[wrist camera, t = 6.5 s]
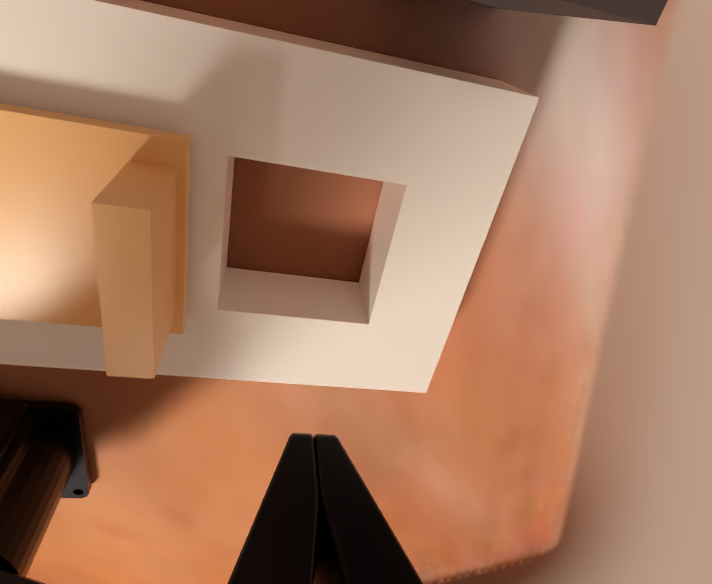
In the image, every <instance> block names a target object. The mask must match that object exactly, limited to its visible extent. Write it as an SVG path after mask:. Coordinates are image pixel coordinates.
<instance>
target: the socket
mask: <svg viewBox="0 0 712 584" xmlns="http://www.w3.org/2000/svg"><path fill="white" fill-rule="evenodd" d="M538 100H539V97H537V96H535V95H533V94H530V93H528V92H526V91H524V90H521V89H519V88H517V87H515V86H512V85H510V84H508V83H506V82H503V81H501V80H496V79H492V78H487V77H483V76H478V75H474V74H469V73H465V72H460V71H456V70H451V69H447V68H442V67H438V66H433V65H429V64H425V63H420V62H416V61H411V60H407V59H402V58H398V57H393V56H389V55H384V54H380V53H375V52H371V51H366V50H362V49H357V48H353V47H348V46H344V45H339V44H335V43H330V42H326V41H321V40H317V39H312V38H308V37H303V36H299V35H294V34H290V33H285V32H281V31H276V30H272V29H267V28H263V27H258V26H254V25H249V24H245V23H240V22H236V21H231V20H227V19H222V18H218V17H213V16H209V15H204V14H200V13H195V12H191V11H186V10H182V9H178V8H173V7H169V6H164V5H160V4H155V3H151V2H146V1H142V0H0V103H4V104H10V105H16V106H22V107H28V108H34V109H39V110H45V111H51V112H57V113H63V114H69V115H75V116H81V117H87V118H92V119H98V120H104V121H110V122H116V123H122V124H128V125H134V126H139V127H145V128H151V129H157V130H163V131H169V132H175V133H181V134H187V135H191V156H190V196H189V235H188V275H187V315H186V326H185V329H184V333H183V334H175V333H169V336H168V339H167V342H166V345H165V348H164V351H163V354H162V357H161V359H160V362H159V365H158V368H157V371H156V374H155V375H170V376H185V377H200V378H215V379H230V380H244V381H259V382H274V383H289V384H304V385H319V386H334V387H349V388H364V389H379V390H393V391H408V392H423V393H426V392H427V389H428V386H429V384H430V381H431V379H432V376H433V373H434V371H435V368H436V366H437V363H438V360H439V358H440V355H441V353H442V350H443V347H444V345H445V342H446V340H447V337H448V334H449V332H450V329H451V327H452V324H453V321H454V319H455V316H456V314H457V311H458V308H459V306H460V303H461V301H462V298H463V295H464V293H465V290H466V288H467V285H468V282H469V280H470V277H471V275H472V272H473V269H474V267H475V264H476V262H477V259H478V256H479V254H480V251H481V249H482V246H483V243H484V241H485V238H486V236H487V233H488V230H489V228H490V225H491V223H492V220H493V217H494V215H495V212H496V210H497V207H498V204H499V202H500V199H501V197H502V194H503V191H504V189H505V186H506V184H507V181H508V178H509V176H510V173H511V171H512V168H513V165H514V163H515V160H516V158H517V155H518V152H519V150H520V147H521V145H522V142H523V139H524V137H525V134H526V132H527V129H528V126H529V124H530V121H531V119H532V116H533V113H534V111H535V108H536V106H537V103H538ZM235 157H238V158H244V159H250V160H256V161H263V162H269V163H275V164H281V165H287V166H293V167H299V168H305V169H311V170H318V171H324V172H330V173H336V174H342V175H348V176H354V177H360V178H366V179H372V180H379V181H384V182H383V186H382V190H381V194H380V198H379V202H378V206H377V210H376V214H375V218H374V222H373V227H372V231H371V235H370V239H369V243H368V247H367V251H366V255H365V259H364V263H363V267H362V272H361V276H360V280H359V283H358V282H350V281H341V280H332V279H324V278H315V277H306V276H298V275H289V274H280V273H272V272H263V271H254V270H246V269H237V268H228V267H227V255H228V242H229V228H230V215H231V201H232V188H233V174H234V161H235ZM0 364H6V365H21V366H36V367H51V368H66V369H81V370H96V371H106V365H105V354H104V342H103V331H102V327H93V326H81V325H69V324H57V323H46V322H34V321H22V320H10V319H0Z"/></svg>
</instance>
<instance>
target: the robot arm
mask: <svg viewBox="0 0 712 584" xmlns="http://www.w3.org/2000/svg"><path fill="white" fill-rule="evenodd" d="M69 414H70V415H69ZM91 486H92V485H91V478H90V470H89V462H88V455H87V447H86V440H85V432H84V424H83V417H82V411H81V408H79V407H78V406H77V405H75V404H71V403H57V402H38V401H19V400H0V584H45V583H42V582H39V581H36V580H33V579H30V578H27V577H26V576H27V573H28V571H29V569H30V567H31V564H32V562H33V560H34V557H35V555H36V553H37V551H38V548H39V546H40V544H41V542H42V539H43V537H44V535H45V533H46V530H47V528H48V526H49V524H50V521H51V519H52V517H53V515H54V512H55V510H56V508H57V505H58V503H59V501H60V499H61V498H83V497H86V496H87V495H88V494H89V492H90V489H91ZM228 584H423V583H422V581H421V579H420V577H419V576H418V574H417V572H416V571H415V569H414V567H413V565H412V564H411V562H410V560H409V559H408V557H407V555H406V553H405V552H404V550H403V548H402V547H401V545H400V543H399V542H398V540H397V538H396V536H395V535H394V533H393V531H392V530H391V528H390V526H389V524H388V523H387V521H386V519H385V518H384V516H383V514H382V512H381V511H380V509H379V507H378V506H377V504H376V502H375V500H374V499H373V497H372V495H371V494H370V492H369V490H368V488H367V487H366V485H365V483H364V482H363V480H362V478H361V477H360V475H359V473H358V471H357V470H356V468H355V466H354V465H353V463H352V461H351V459H350V458H349V456H348V454H347V453H346V451H345V449H344V447H343V446H342V444H341V442H340V441H339V439H338V438H337V437H336V436H335V435H327V434H316V435H315V436H314V437H313V435H311V434H305V433H293V434H291V435H290V437H289V439H288V442H287V444H286V446H285V449H284V451H283V453H282V456H281V458H280V461H279V463H278V465H277V468H276V470H275V472H274V475H273V477H272V479H271V482H270V484H269V487H268V489H267V491H266V494H265V496H264V498H263V501H262V503H261V506H260V508H259V510H258V513H257V515H256V517H255V520H254V522H253V525H252V527H251V529H250V532H249V534H248V536H247V539H246V541H245V543H244V546H243V548H242V551H241V553H240V555H239V558H238V560H237V562H236V565H235V567H234V570H233V572H232V574H231V577H230V579H229V581H228Z"/></svg>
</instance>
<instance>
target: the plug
mask: <svg viewBox="0 0 712 584" xmlns="http://www.w3.org/2000/svg"><path fill="white" fill-rule="evenodd" d="M465 1H469V2H473V3H477V4H481V5H484V6H488V7H492V8H498V9H507V10H516V11H526V12H535V13H544V14H554V15H563V16H572V17H582V18H591V19H600V20H609V21H619V22H628V23H637V24H647V25H656V24H657V22H658V19H659V17H660V15H661V13H662V11H663V9H664V7H665V5H666V2H667V0H465Z"/></svg>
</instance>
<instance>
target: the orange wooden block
mask: <svg viewBox="0 0 712 584" xmlns="http://www.w3.org/2000/svg"><path fill="white" fill-rule="evenodd" d="M190 156H191V135H187V134H181V133H175V132H169V131H163V130H157V129H151V128H145V127H139V126H134V125H128V124H122V123H116V122H110V121H104V120H98V119H92V118H87V117H81V116H75V115H69V114H63V113H57V112H51V111H45V110H39V109H34V108H28V107H22V106H16V105H10V104H4V103H0V319H10V320H22V321H34V322H46V323H57V324H69V325H81V326H93V327H102V331H103V342H104V354H105V365H106V376H116V377H131V378H147V379H154V377H155V374H156V371H157V368H158V365H159V362H160V359H161V357H162V354H163V351H164V348H165V345H166V342H167V339H168V336H169V333H175V334H183V333H184V329H185V326H186V315H187V275H188V235H189V196H190Z"/></svg>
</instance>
